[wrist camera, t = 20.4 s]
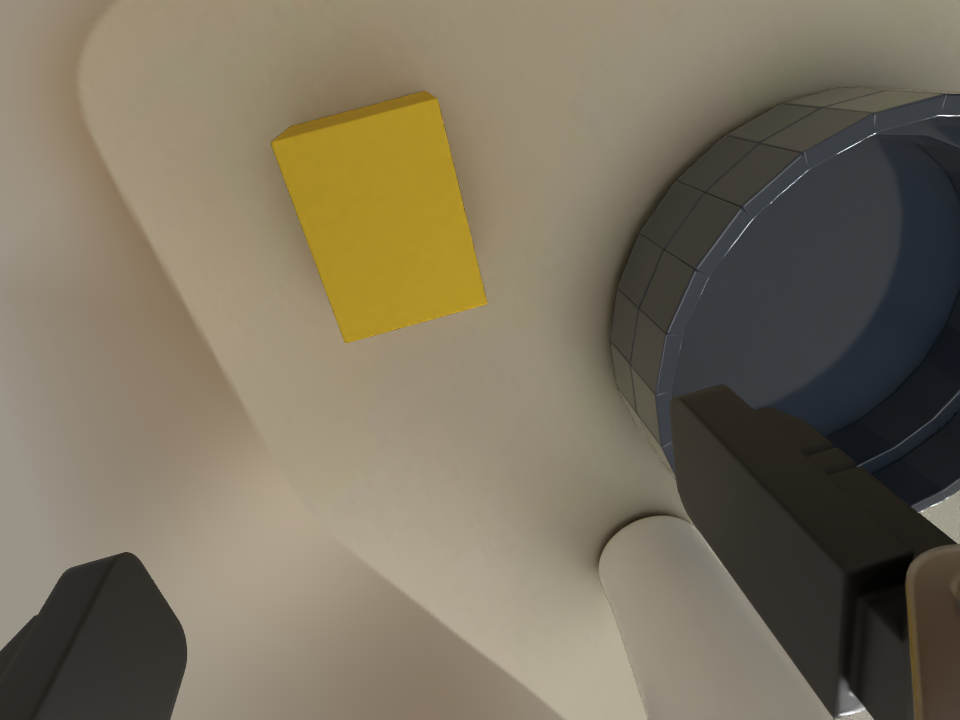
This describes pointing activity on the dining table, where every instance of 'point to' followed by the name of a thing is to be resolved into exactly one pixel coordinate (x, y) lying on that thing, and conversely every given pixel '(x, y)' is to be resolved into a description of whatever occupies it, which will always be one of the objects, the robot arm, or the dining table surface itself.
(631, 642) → the drinking glass
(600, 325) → the dining table surface
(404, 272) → the sponge
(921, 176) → the bowl
